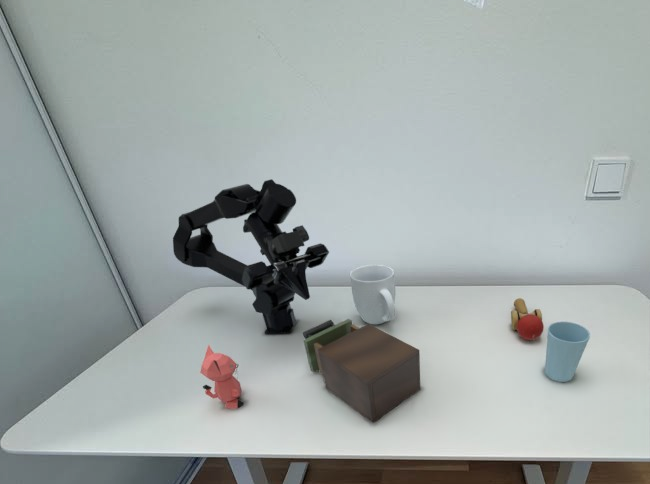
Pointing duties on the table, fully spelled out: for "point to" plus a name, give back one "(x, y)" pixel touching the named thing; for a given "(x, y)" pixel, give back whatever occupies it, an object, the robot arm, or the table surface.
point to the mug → (374, 292)
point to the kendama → (526, 321)
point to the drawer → (324, 339)
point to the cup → (564, 349)
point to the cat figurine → (222, 378)
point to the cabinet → (371, 370)
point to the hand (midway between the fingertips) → (307, 298)
